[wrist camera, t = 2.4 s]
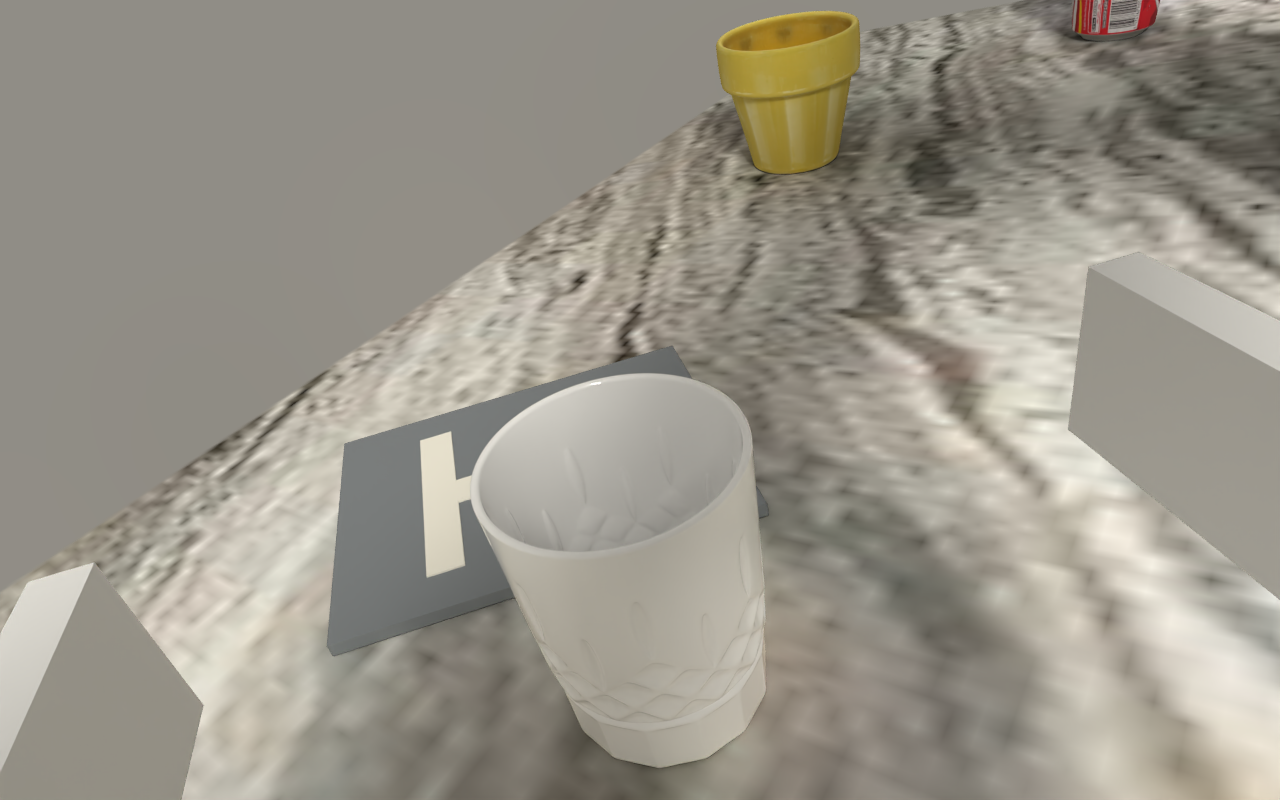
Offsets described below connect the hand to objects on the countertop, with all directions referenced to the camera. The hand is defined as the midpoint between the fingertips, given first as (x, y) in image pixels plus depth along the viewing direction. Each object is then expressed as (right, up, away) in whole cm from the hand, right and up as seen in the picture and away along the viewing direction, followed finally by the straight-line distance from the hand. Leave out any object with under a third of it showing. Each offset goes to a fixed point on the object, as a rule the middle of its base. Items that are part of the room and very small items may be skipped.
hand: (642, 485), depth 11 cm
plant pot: (+12, +20, +55) cm, 60 cm away
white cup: (+1, -9, +18) cm, 20 cm away
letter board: (-5, -3, +28) cm, 28 cm away
